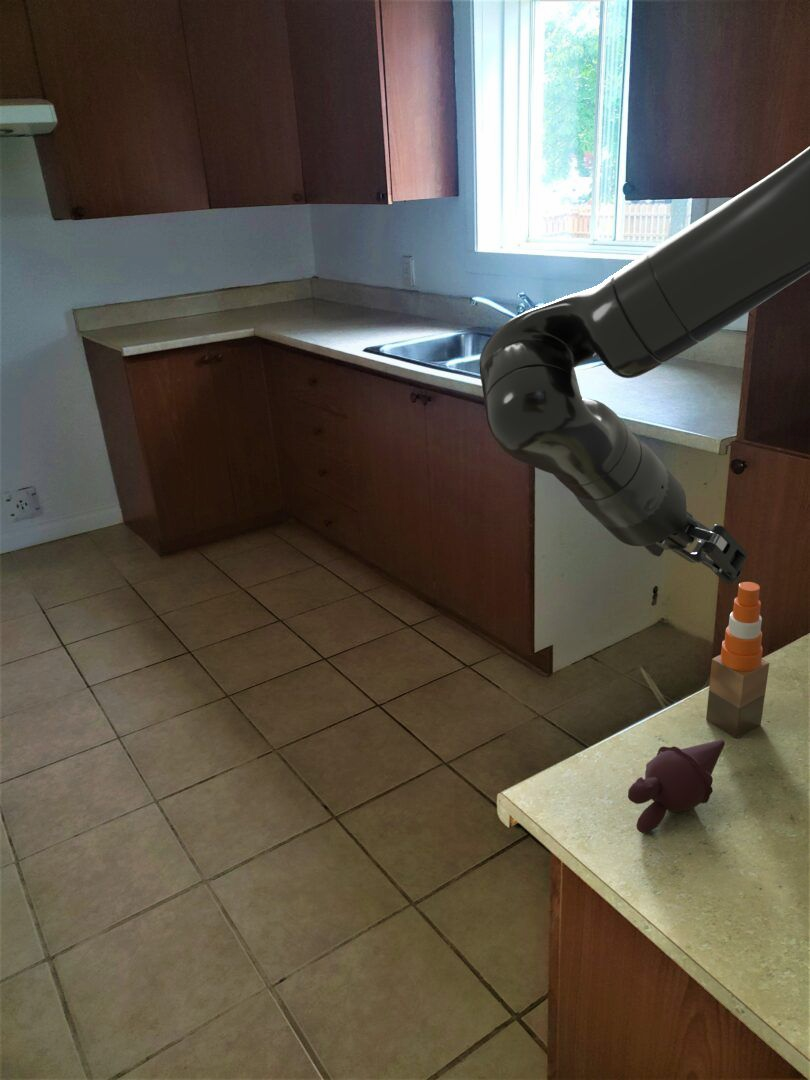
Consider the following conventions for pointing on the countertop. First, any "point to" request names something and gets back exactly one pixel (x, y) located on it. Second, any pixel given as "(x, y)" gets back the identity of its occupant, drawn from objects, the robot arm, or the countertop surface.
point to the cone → (744, 631)
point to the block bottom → (734, 715)
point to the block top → (738, 682)
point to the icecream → (675, 781)
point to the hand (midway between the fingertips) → (696, 561)
